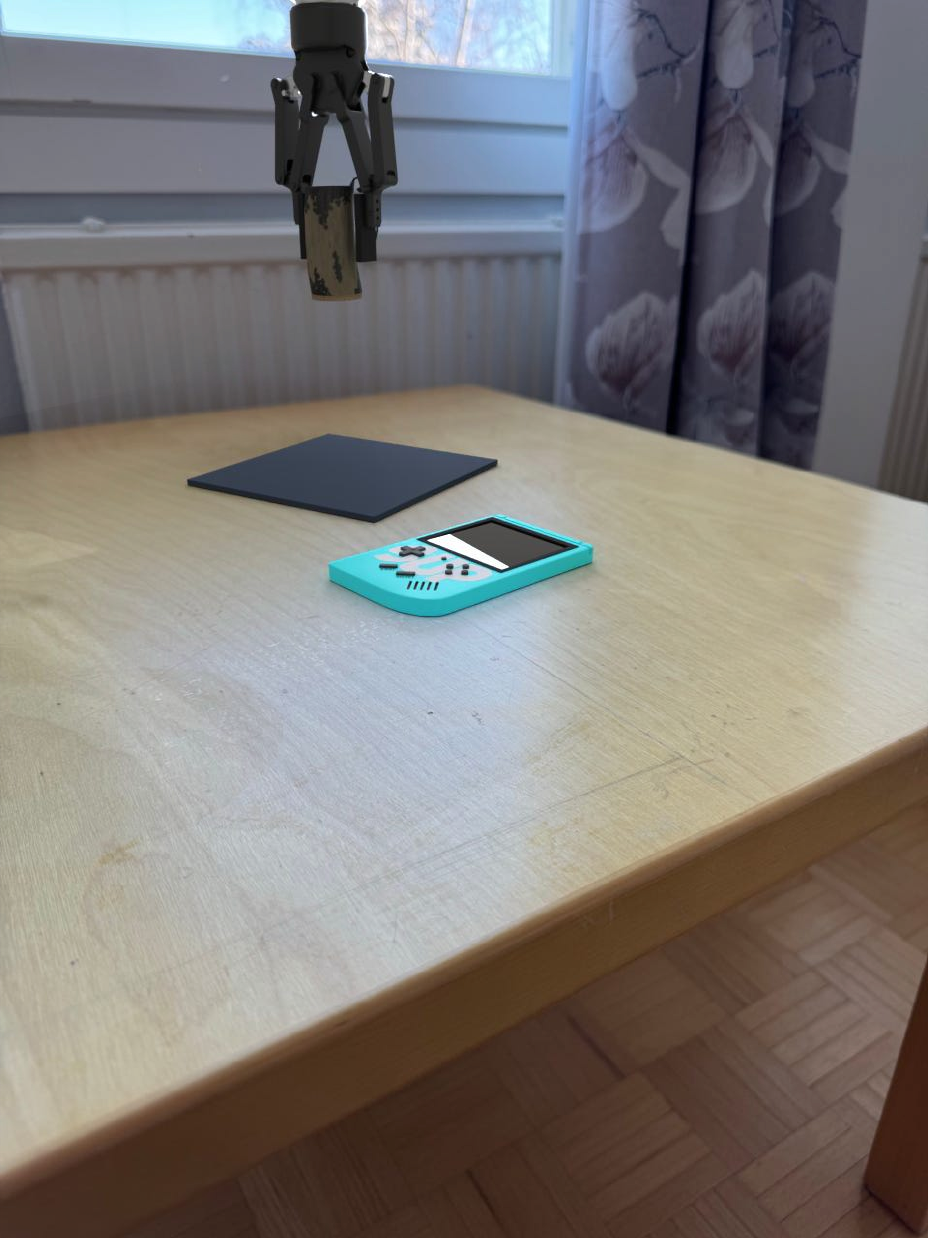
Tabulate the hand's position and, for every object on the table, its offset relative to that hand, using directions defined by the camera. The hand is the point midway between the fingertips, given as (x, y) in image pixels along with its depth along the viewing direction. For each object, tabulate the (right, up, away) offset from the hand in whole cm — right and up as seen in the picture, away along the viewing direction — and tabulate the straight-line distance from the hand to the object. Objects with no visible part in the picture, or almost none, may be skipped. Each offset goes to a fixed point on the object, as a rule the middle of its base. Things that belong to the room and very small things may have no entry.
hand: (338, 259), depth 102 cm
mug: (+1, -4, +2) cm, 4 cm away
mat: (+3, -25, -15) cm, 29 cm away
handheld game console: (+13, -35, -36) cm, 52 cm away
